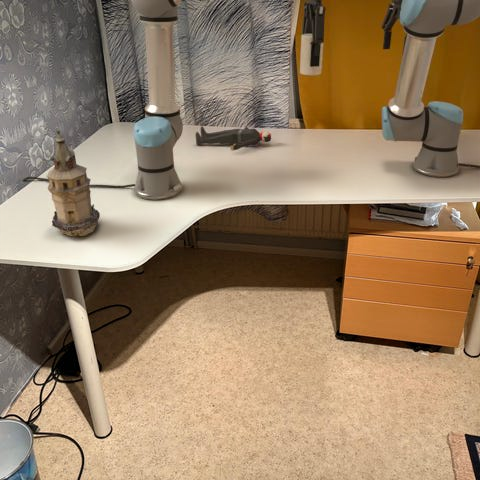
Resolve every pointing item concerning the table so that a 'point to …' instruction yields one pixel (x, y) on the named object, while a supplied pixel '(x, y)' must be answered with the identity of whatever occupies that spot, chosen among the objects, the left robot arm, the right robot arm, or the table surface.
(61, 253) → the table surface
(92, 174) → the table surface
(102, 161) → the table surface
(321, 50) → the can
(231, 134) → the toy
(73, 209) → the miniature building
